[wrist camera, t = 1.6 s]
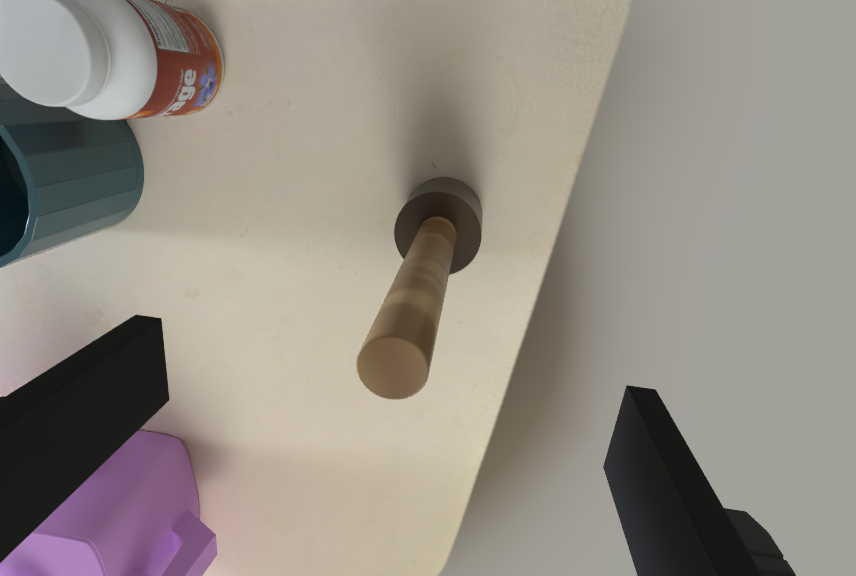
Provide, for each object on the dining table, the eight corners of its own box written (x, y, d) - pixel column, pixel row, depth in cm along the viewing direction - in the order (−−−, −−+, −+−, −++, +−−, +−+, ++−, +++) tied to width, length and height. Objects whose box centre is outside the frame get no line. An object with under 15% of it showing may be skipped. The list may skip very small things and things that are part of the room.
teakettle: (155, 582, 50) (56, 728, 39) (11, 472, 47) (-143, 596, 35) (263, 502, 45) (187, 644, 33) (110, 371, 41) (-34, 478, 30)
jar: (84, 53, 32) (-55, 40, 24) (171, 197, 35) (74, 230, 27) (-24, 119, 35) (-185, 129, 26) (65, 249, 38) (-54, 295, 29)
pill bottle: (177, 132, 34) (40, 151, 23) (114, 44, 32) (-63, 23, 22) (248, 80, 32) (134, 76, 22) (185, -16, 30) (31, -70, 20)
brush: (464, 164, 32) (434, 265, 14) (493, 234, 34) (501, 411, 15) (394, 195, 34) (280, 325, 15) (425, 261, 35) (356, 455, 16)
